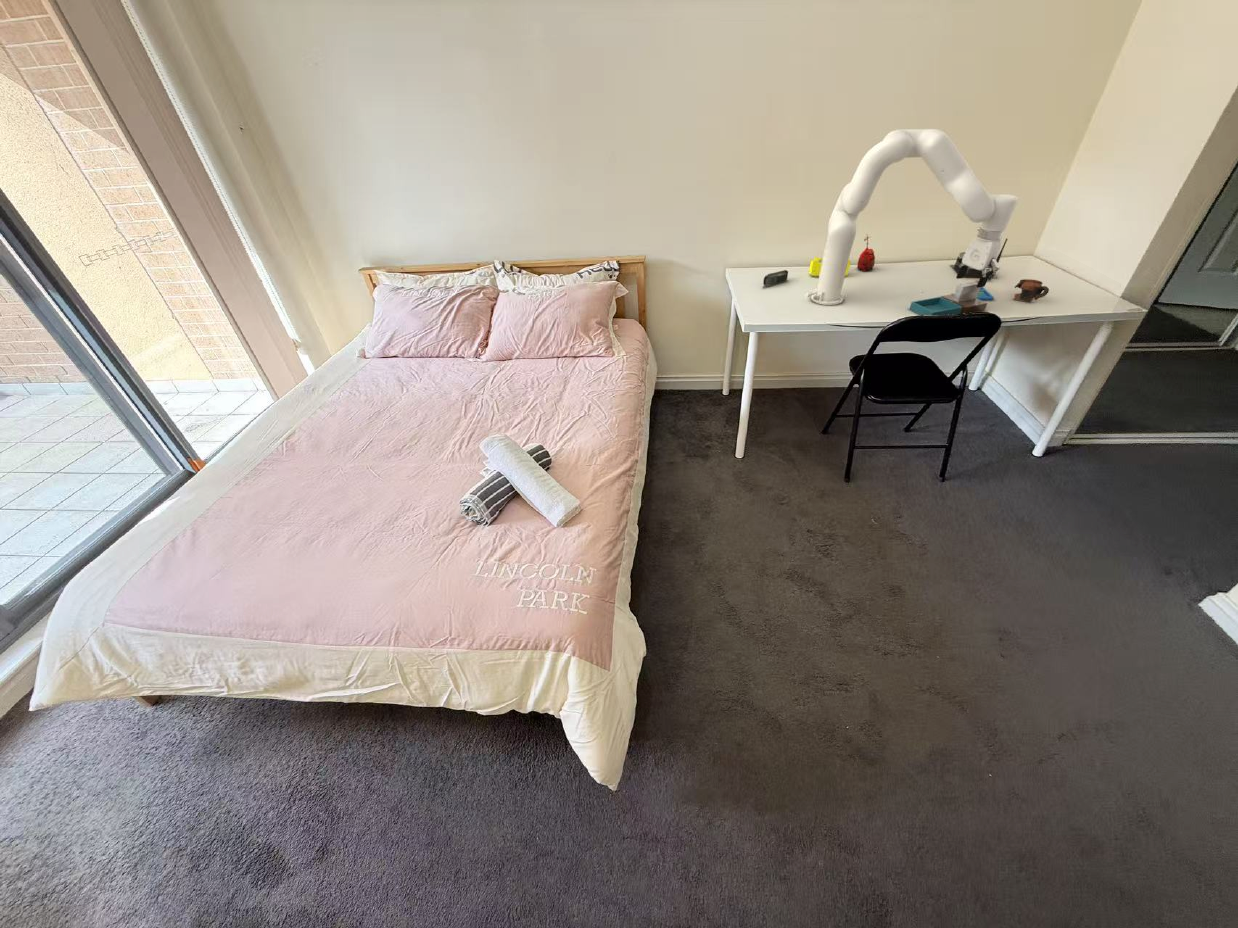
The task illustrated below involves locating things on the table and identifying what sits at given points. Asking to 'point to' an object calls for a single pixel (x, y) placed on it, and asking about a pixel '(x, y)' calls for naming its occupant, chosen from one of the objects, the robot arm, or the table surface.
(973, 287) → the white block
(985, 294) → the handheld gaming device
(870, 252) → the red clay folk toy
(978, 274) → the wireless controller
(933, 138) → the robot arm
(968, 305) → the panel
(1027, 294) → the pottery mug
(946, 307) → the basin
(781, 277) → the mobile phone
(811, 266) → the yellow toy chassis
